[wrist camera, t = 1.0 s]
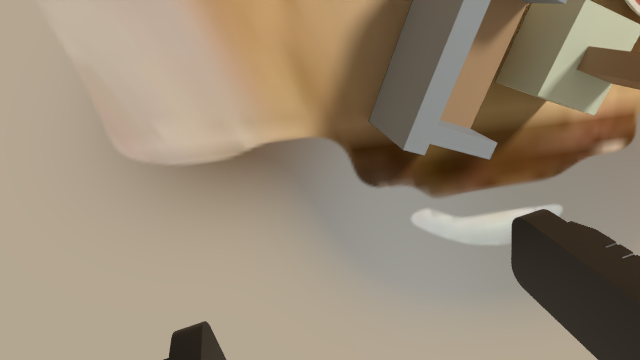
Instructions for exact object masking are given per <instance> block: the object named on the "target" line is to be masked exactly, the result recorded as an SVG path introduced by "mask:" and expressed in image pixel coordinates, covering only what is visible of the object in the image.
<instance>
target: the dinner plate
mask: <svg viewBox="0 0 640 360" xmlns="http://www.w3.org/2000/svg"><path fill="white" fill-rule="evenodd" d="M625 2H626V3H627V5H628V6H629V7H630V8H631V9H632V10H633V11H634V12H635V13H636V14H637V15H638V16H639V17H640V0H625Z"/></svg>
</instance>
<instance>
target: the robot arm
mask: <svg viewBox="0 0 640 360" xmlns="http://www.w3.org/2000/svg"><path fill="white" fill-rule="evenodd" d="M511 260H512V261H511V263H512V270H513V273H514V275H515V277H516V279H517V281H518V282H519V284H520V285H521V286H522V287H523V288H524V289H525V290H526V291H527V292H528V293H529V294H530V295H531V296H532V297H533V298H534V299H535V300H536V301H537V302H538V303H539V304H540V305H541V306H542V307H543V308H545V309H546V310H547V311H548V312H549V313H550V314H551V315H552V316H553V317H554V318H555V319H556V320H557V321H558V322H559V323H560V324H561V325H562V326H563V327H564V328H565V329H567V330H568V331H569V332H570V333H571V334H572V335H573V336H574V337H575V338H576V339H577V340H578V341H579V342H580V343H581V344H582V345H583V346H584V347H585V348H586V349H587V350H589V351H590V352H591V353H592V354H593V355H594V356H595V357H596V358H597V359H598V360H640V256H638V255H636V256H635V255H634V254H633V252H631V251H630V250H628V249H627V248H625V247H623V246H622V245H617V244H616V242H615V241H614V240H612V239H611V238H609V237H607V236H606V235H604V234H602V233H601V232H599V231H598V230H596V229H593V228H590V227H587V226H584V225H581V224H578V223H574V222H572V221H571V222H568V223H567V222H566V221H564V220H563V219H561V218H560V217H558V216H557V215H555V214H554V213H552V212H550V211H548V210H546V209H542V210H538V211H535V212H532V213H529V214H526V215H523V216H520V217H517V218H515V219H514V220H513V222H512V257H511ZM164 360H226V358H225V356H224V354H223V352H222V350H221V348H220V346H219V344H218V342H217V340H216V338H215V335H214V333H213V331H212V329H211V327H210V325H209V324H208V323H207V322H206V321H204V322H201V323H198V324H195V325H193V326H190V327H187V328H184V329H181V330H178V331H175V332H174V333H173V335H172V338H171V345H170V353H169V358H167V359H164Z"/></svg>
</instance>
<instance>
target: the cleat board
mask: <svg viewBox="0 0 640 360" xmlns="http://www.w3.org/2000/svg"><path fill="white" fill-rule="evenodd" d="M566 2H567V0H413V1H412V3H411V6H410V9H409V12H408V14H407V17H406V20H405V23H404V25H403V28H402V31H401V34H400V37H399V39H398V42H397V45H396V48H395V50H394V53H393V56H392V59H391V61H390V64H389V67H388V70H387V72H386V75H385V78H384V81H383V83H382V86H381V89H380V92H379V94H378V97H377V100H376V103H375V105H374V108H373V111H372V114H371V116H370V119H369V122H370V123H371V124H372V125H373V126H375V127H376V128H377V129H378V130H380V131H381V132H382V133H383V134H384V135H386V136H387V137H388V138H389V139H390V140H392V141H393V142H394V143H395V144H396V145H398V146H399V147H400V148H401V149H403V150H405V151H409V152H413V153H417V154H421V155H425V153H426V151H427V149H428V146H429V144H432V145H436V146H440V147H444V148H448V149H451V150H455V151H459V152H463V153H467V154H470V155H474V156H478V157H482V158H485V159H489V160H490V158H491V155H492V153H493V151H494V149H495V147H496V145H497V142H495V141H493V140H491V139H489V138H487V137H485V136H483V135H481V134H479V133H477V132H476V131H474V130H472V129H470V128H471V126H472V124H473V122H474V119H475V117H476V115H477V113H478V111H479V109H480V106H481V104H482V102H483V100H484V98H485V95H486V93H487V91H488V89H489V87H490V85H491V82H492V80H493V78H494V76H495V74H496V71H497V69H498V67H499V65H500V63H501V61H502V58H503V56H504V54H505V52H506V50H507V47H508V45H509V43H510V41H511V39H512V36H513V34H514V32H515V30H516V28H517V26H518V23H519V21H520V19H521V17H522V15H523V12H524V10H525V8H526V6H527V4H528V3H543V4H566Z"/></svg>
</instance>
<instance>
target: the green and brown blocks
mask: <svg viewBox="0 0 640 360" xmlns="http://www.w3.org/2000/svg"><path fill="white" fill-rule="evenodd" d="M639 36H640V24H638V23H636V22H634V21H632V20H630V19H628V18H626V17H624V16H622V15H619V14H617V13H615V12H613V11H611V10H609V9H607V8H605V7H603V6H601V5H599V4H597V3H594V2H592V1H590V0H567V2H566V4H543V3H531V5H530V8H529V10H528V12H527V14H526V16H525V18H524V21H523V23H522V25H521V27H520V29H519V32H518V34H517V36H516V38H515V40H514V42H513V45H512V47H511V49H510V51H509V53H508V55H507V58H506V60H505V62H504V64H503V66H502V68H501V71H500V73H499V75H498V77H497V79H496V81H495V83H497V84H500V85H503V86H506V87H509V88H512V89H515V90H518V91H520V92H523V93H526V94H529V95H532V96H535V97H538V98H541V99H544V100H546V101H550V102H553V103H556V104H559V105H562V106H566V107H569V108H572V109H575V110H578V111H581V112H585V113H588V114H591V115H595V114H596V112H597V110H598V108H599V106H600V105H601V103H602V101H603V99H604V98H605V96H606V94H607V92H608V91H609V89H610V87H611V85H612V84H616V85H621V86H625V87H630V88H635V89H639V90H640V53H638V52H630V51H631V50H632V48H633V46H634V44H635V43H636V41H637V39H638V37H639Z"/></svg>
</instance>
